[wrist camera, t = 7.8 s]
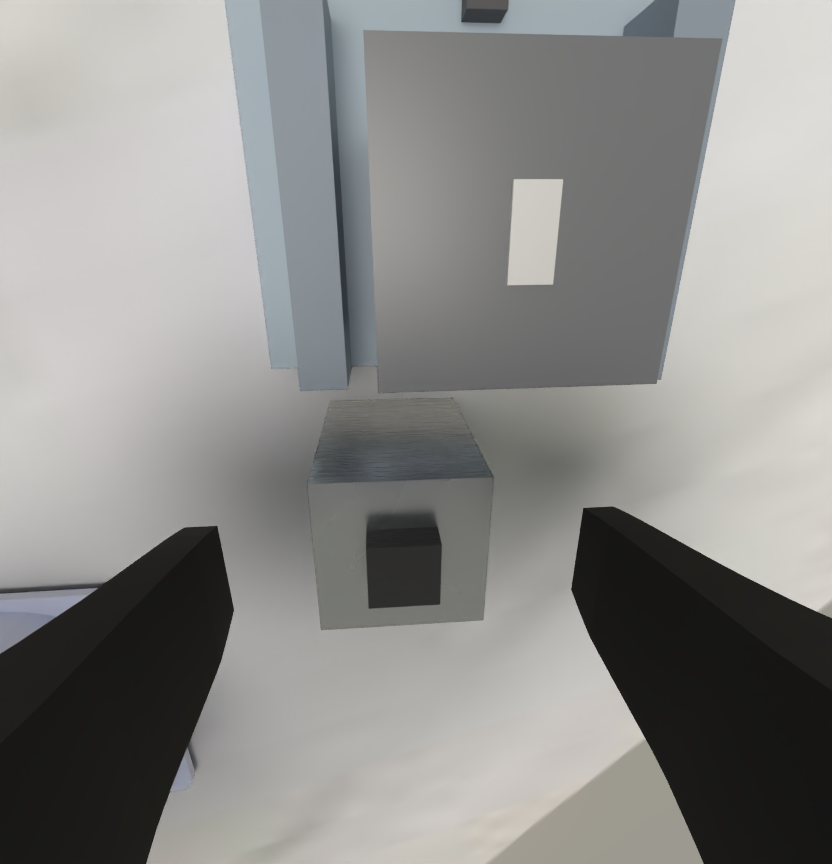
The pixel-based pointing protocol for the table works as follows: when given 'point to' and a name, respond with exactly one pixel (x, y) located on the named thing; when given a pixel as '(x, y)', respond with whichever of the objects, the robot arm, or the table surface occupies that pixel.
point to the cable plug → (399, 515)
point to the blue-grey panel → (348, 146)
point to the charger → (529, 203)
